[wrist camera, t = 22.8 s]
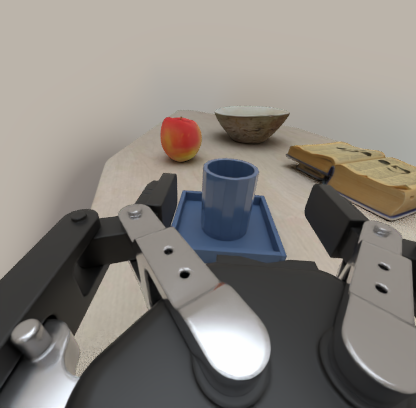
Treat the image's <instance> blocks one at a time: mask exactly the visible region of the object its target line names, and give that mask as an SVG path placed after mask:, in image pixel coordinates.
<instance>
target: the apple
mask: <svg viewBox="0 0 416 408" xmlns="http://www.w3.org/2000/svg"><path fill="white" fill-rule="evenodd" d="M201 142H202V135H201V131H200V128H199V126H198V125H197V123H196V122H195V121H193V120H189V119H186V118H182V117H181V118H170V117H167V118H165V119H164V121H163V123H162V127H161V144H162V147H163V149H164V151H165V153H166V154H167V155H168V156H169V157H170V158H171V159H173V160H175V161H178V162H183V161H187V160H189V159H191V158H193V157H194V156H195V155H196V154H197V152H198V150H199V148H200V146H201Z"/></svg>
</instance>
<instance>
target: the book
mask: <svg viewBox="0 0 416 408" xmlns="http://www.w3.org/2000/svg"><path fill="white" fill-rule="evenodd" d="M286 157H288V159H292V160H294V161H296V162H298V163H300V164H299V165H298V166H297V169H299V170H301V171H303V172H304V173H307V174H309V175H311V176H312V177H314V178H317V179H319V180H324V181H322V182H323V185H331V186H332V187H333V188H334V189H335V190H336V191H337V192H338V193H339V194H340V195H341V196H343V197H345V198H346V199H348V200H349V201H351V202H352V203H354V204H357V205H359V206H360V207H362V208H364V209H366V210H369V211H371V212H373V213H375V214H376V215H379V216H381V217H383V218H385V219H387V220H396V219H399V218H402V217H405V216H408V215H410V214H413V213H415V212H416V167H414V166H412V165H409V164H407V163H405V162H403V161H401V160H398V159H395V158H385V155H384V153H383V152H380V151H376V150H369V149H361V148H358V147H354V146H352V145H350V144H348V143H344V142H334V143H327V144H317V145H302V146H300V145H296V146H291V147H290V149H289V152H288V154H286ZM325 176H327V177H325ZM327 179H328V180H327Z"/></svg>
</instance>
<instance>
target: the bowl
mask: <svg viewBox="0 0 416 408" xmlns="http://www.w3.org/2000/svg"><path fill="white" fill-rule="evenodd" d="M289 114H290V113H289V112H288V111H286V110H282V109H277V108H271V107H258V106H257V107H256V106H235V107H224V108H220V109H216V110H215V115H216V117H217V119H218V121H219V123H220V125H221V126H222V127H223V129H224V130H225V131H226V132H227V133H228V135H229V136H230V137H231V138H232V139H233V140H235V141H238V142H243V143H261V142H264V141H265V140H267V139H268V138H269V137H270V136H271V135H272V134H273V133H275V132H276V130H277V129H279V127H280V126H281V125H282V124H283V123H284V121H285V120H286V119H287V117H288V116H289Z"/></svg>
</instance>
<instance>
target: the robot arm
mask: <svg viewBox="0 0 416 408" xmlns="http://www.w3.org/2000/svg"><path fill="white" fill-rule="evenodd" d="M176 207H177V175H176V174H170V173H163V174H162V176H161V178H160V179H159V181H152V182H151V183H149V184H147V186H146V187H145V190H143V192H142V194H141V195H140V197H139V198H138V200H137V201H136V203H135V204H133V205H129V206H126V207H124V208H122V209H121V210H120V211H119V213H118V216H115V217H108V218H99V216H98V213H97V212H96V211H94V210H91V209H82V210H77V211H73V212H71V213H69V214H67V215H65V216H64V217H63V218H62V219H61V220H60V221H59V222H58V223H57V224H56V225H55V226H54V227H53V228H52V229H51V230H50V231H49V232H48V233H47V234H46V235H45V236H44V237H43V238H42V239H41V240H40V241H39V242H38V243H37V244H36V245H35V246H34V247H33V248H32V249H31V250H30V251H29V252H28V253H27V254H26V255H25V256H24V257H23V258H22V259H21V260H20V261H19V262H18V263H17V264H16V265H15V266H14V267H13V268H12V269H11V270H10V271H9V272H8V273H7V274H6V275H5V276H4V277H3V278H2V279H1V280H0V408H416V326H415V322H414V316H415V318H416V242H414V241H410V240H406V239H402V235H401V234H400V233H399V232H398V231H397V230H396V229H394V228H393V227H391V226H389V225H387V224H384V223H381V222H378V221H370V220H369V219H367V218H366V217H365V216H364V215H363V214H362V213H361V212H360V211H359V210H358V209H357V208H356V207H355V206H354V205H352V203H351V202H350V201H349V200H348V199H346V198H345V197H343V196H341V195H340V194H339V193H338V192H337V191H336V190H335V189H334V188H333V187H332V186H331V185H323V184H315V185H314V186H313V188H312V190H311V193H310V196H309V198H308V201H307V204H306V207H305V217H306V218H307V220H308V222H309V223H310V225H311V227H312V228H313V230H314V231H315V233H316V235H317V236H318V238H319V240H320V241H321V243H322V244H323V246H324V248H325V249H326V251H327V252H328V254H329V256H330V257H331V258H342V259H343V260H342V262H341V264H340V266H339V269H338V272H337V274H336V277H335V276H334V275H331V274H329V273H327V272H324V271H321V270H318V268H317V266H316V264H315V262H312V261H299V260H286V261H279V262H272V263H264V262H260V261H257V260H253V259H249V258H245V257H242V256H230V255H217V257H216V262H212V263H208V264H205V263H204V262H203V261H202V260H201V258H200V257H199V256H198V255H197V254H196V252H195V251H194V250H193V249H192V248H191V247H190V245H189V244H188V243H187V242H186V241H185V239H184V238H183V237H182V236H181V235H180V233H179V232H178V231H177V230H176V229H175V228H174V227H173V226H171V222H172V219H173V216H174V213H175V210H176ZM124 261H128V262H129V264H130V266H131V269H132V271H133V273H134V275H135V277H136V279H137V282H138V284H139V286H140V288H141V290H142V293H143V296H144V300H145V303H146V305H147V308H148V311H147V312H146V313H145V314H144V315H143V316H141V317H140V318H139V319H138V320H137V321H136V322H135V323H134V324H133V325H131V326H130V327H129V328H128V329H127V330H126V331H125V332H124V333H123V334H121V335H120V336H119V337H118V338H117V339H116V340H115V341H114V342H113V343H111V344H110V345H109V346H108V347H107V348H106V349H105V350H104V351H103V352H101V353H100V354H99V355H98V356H97V357H96V358H95V359H94V360H93V361H92V362H91V363H90V365H89V366H88V367H87V368H86V370H85V371H84V372H83V374H82V375H81V377H77V376H76V367H77V364H78V361H79V357H80V347H79V345H78V343H77V341H76V339H75V338H74V336H75V334H76V332H77V330H78V328H79V326H80V324H81V322H82V320H83V318H84V316H85V314H86V312H87V310H88V307H89V305H90V303H91V301H92V299H93V297H94V295H95V293H96V291H97V289H98V287H99V285H100V283H101V281H102V279H103V277H104V275H105V273H106V271H107V269H108V267H109V265H110V264H113V263H118V262H124Z"/></svg>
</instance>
